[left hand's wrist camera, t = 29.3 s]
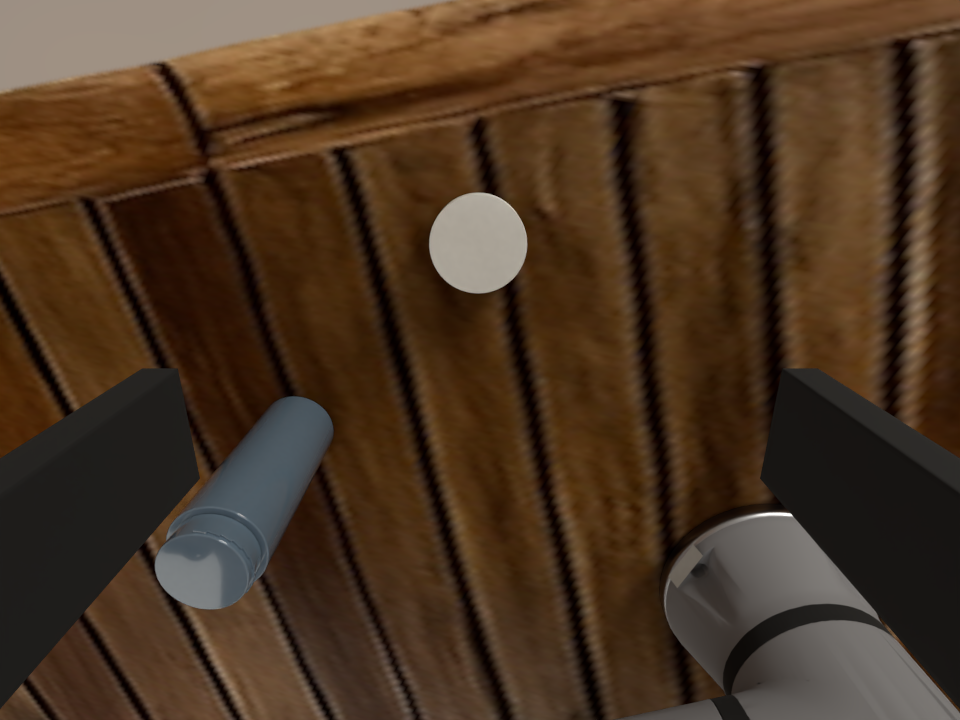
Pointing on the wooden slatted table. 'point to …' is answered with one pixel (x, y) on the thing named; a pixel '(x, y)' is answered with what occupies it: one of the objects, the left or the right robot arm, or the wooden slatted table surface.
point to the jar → (244, 507)
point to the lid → (478, 243)
